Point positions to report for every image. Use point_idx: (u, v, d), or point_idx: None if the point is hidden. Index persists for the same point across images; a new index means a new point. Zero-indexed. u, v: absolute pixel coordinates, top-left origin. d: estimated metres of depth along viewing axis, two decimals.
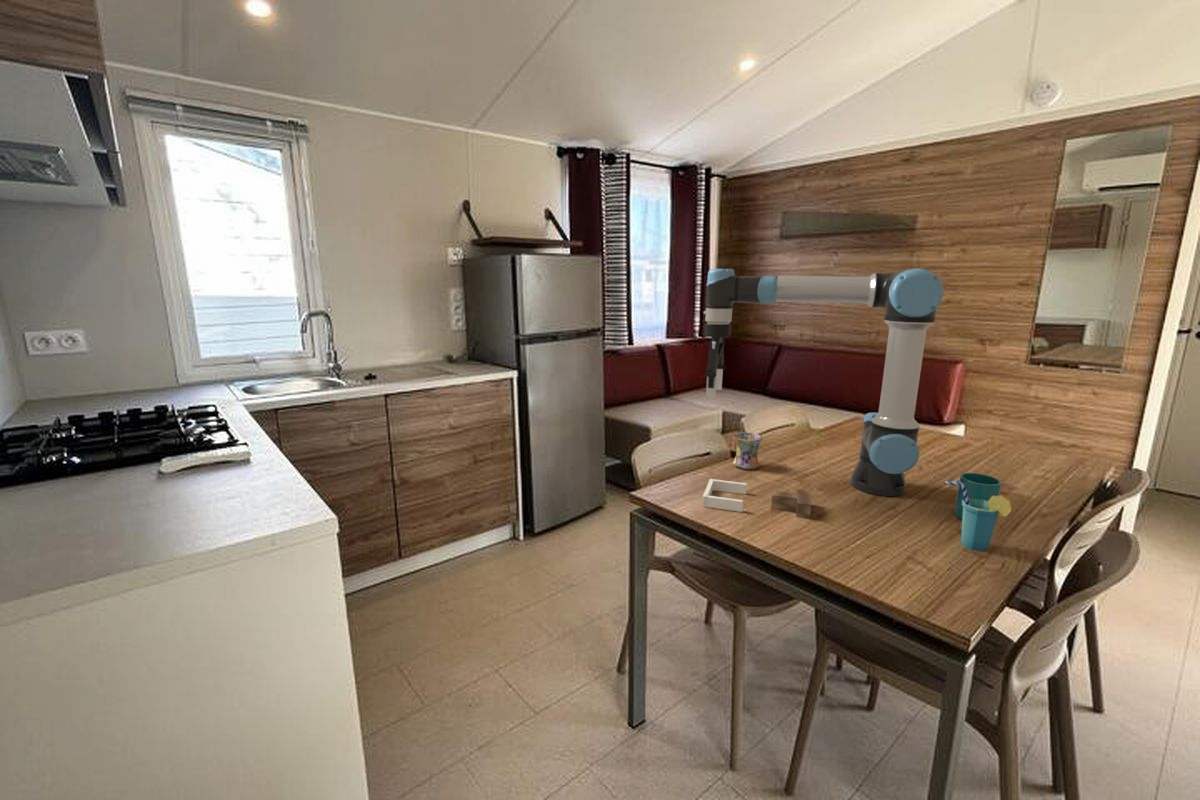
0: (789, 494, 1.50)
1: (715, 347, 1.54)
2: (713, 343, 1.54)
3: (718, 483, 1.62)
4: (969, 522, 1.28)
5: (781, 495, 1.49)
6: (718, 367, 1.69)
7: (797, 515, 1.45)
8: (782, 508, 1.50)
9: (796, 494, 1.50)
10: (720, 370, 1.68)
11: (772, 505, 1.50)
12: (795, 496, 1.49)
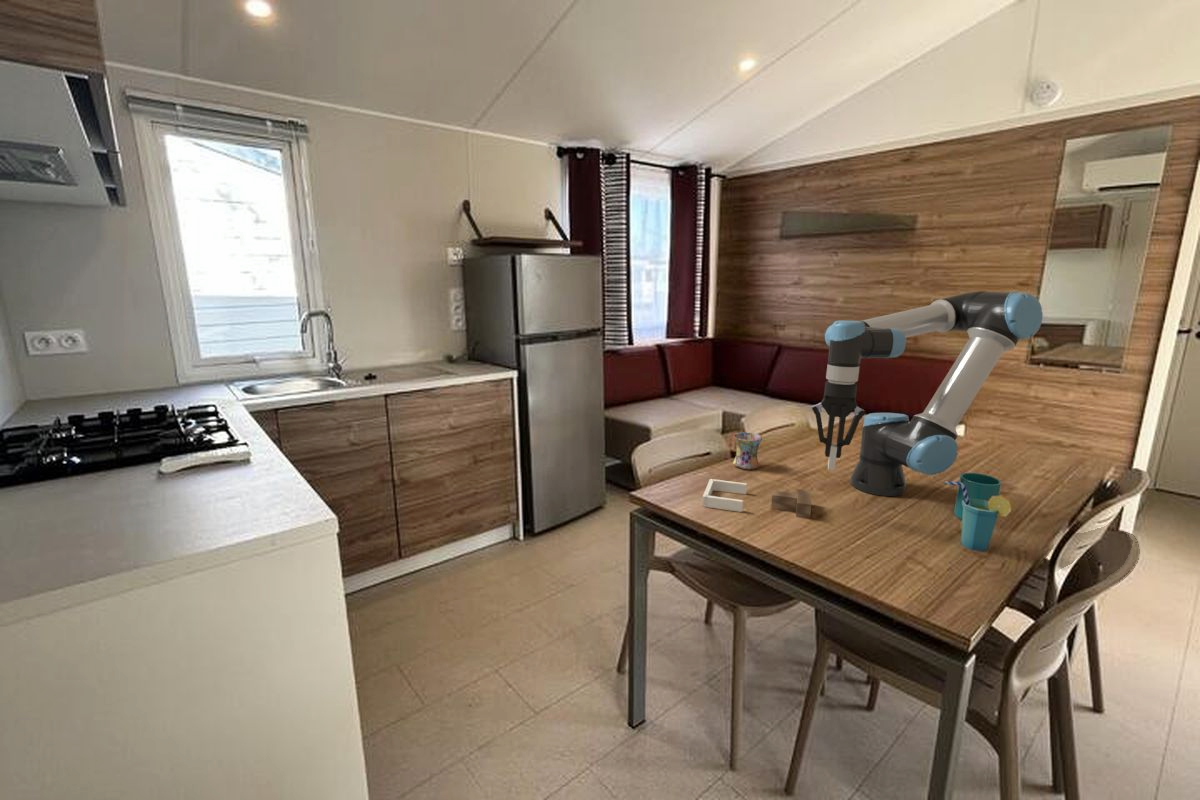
0: (789, 494, 1.50)
1: (814, 412, 1.43)
2: (812, 408, 1.43)
3: (718, 483, 1.62)
4: (969, 522, 1.28)
5: (781, 495, 1.49)
6: (836, 444, 1.43)
7: (797, 515, 1.45)
8: (782, 508, 1.50)
9: (796, 494, 1.50)
10: None
11: (772, 505, 1.50)
12: (795, 496, 1.49)
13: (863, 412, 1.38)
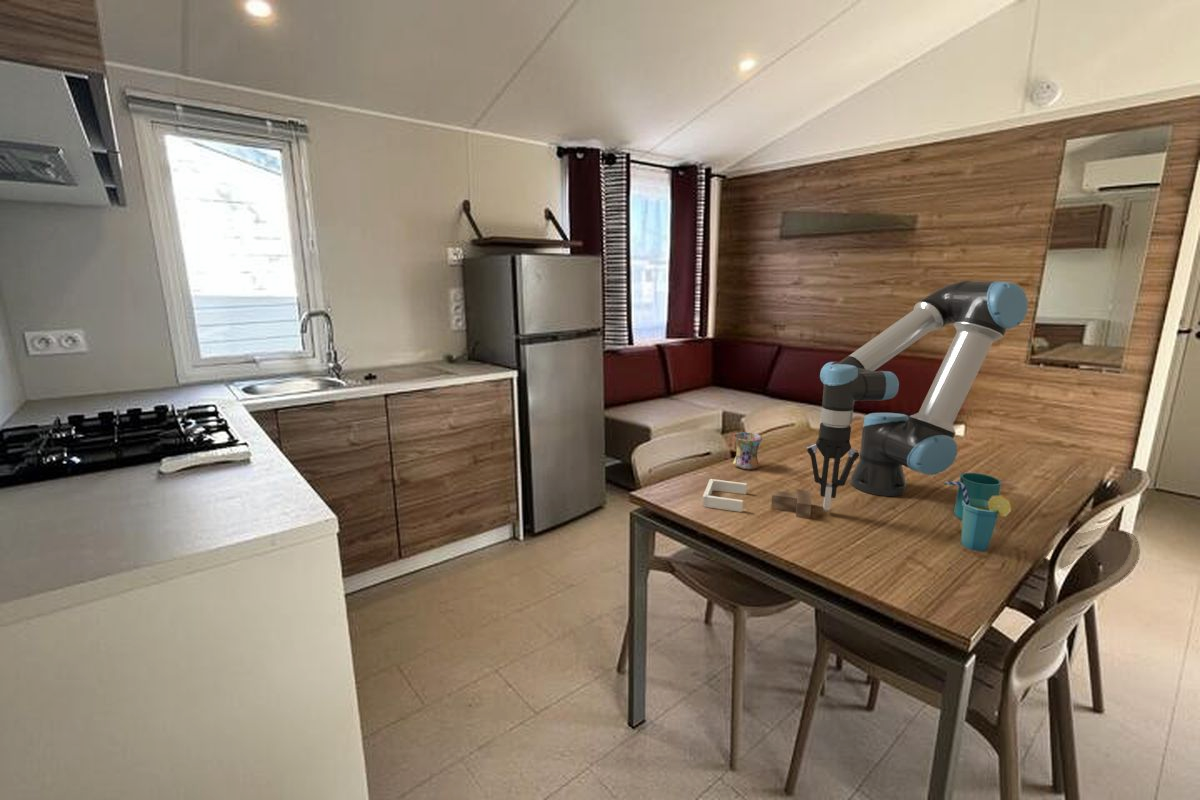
0: (789, 494, 1.50)
1: None
2: None
3: (718, 483, 1.62)
4: (969, 522, 1.28)
5: (781, 495, 1.49)
6: (831, 484, 1.46)
7: (797, 515, 1.45)
8: (782, 508, 1.50)
9: (796, 494, 1.50)
10: None
11: (772, 505, 1.50)
12: (795, 496, 1.49)
13: (857, 454, 1.41)
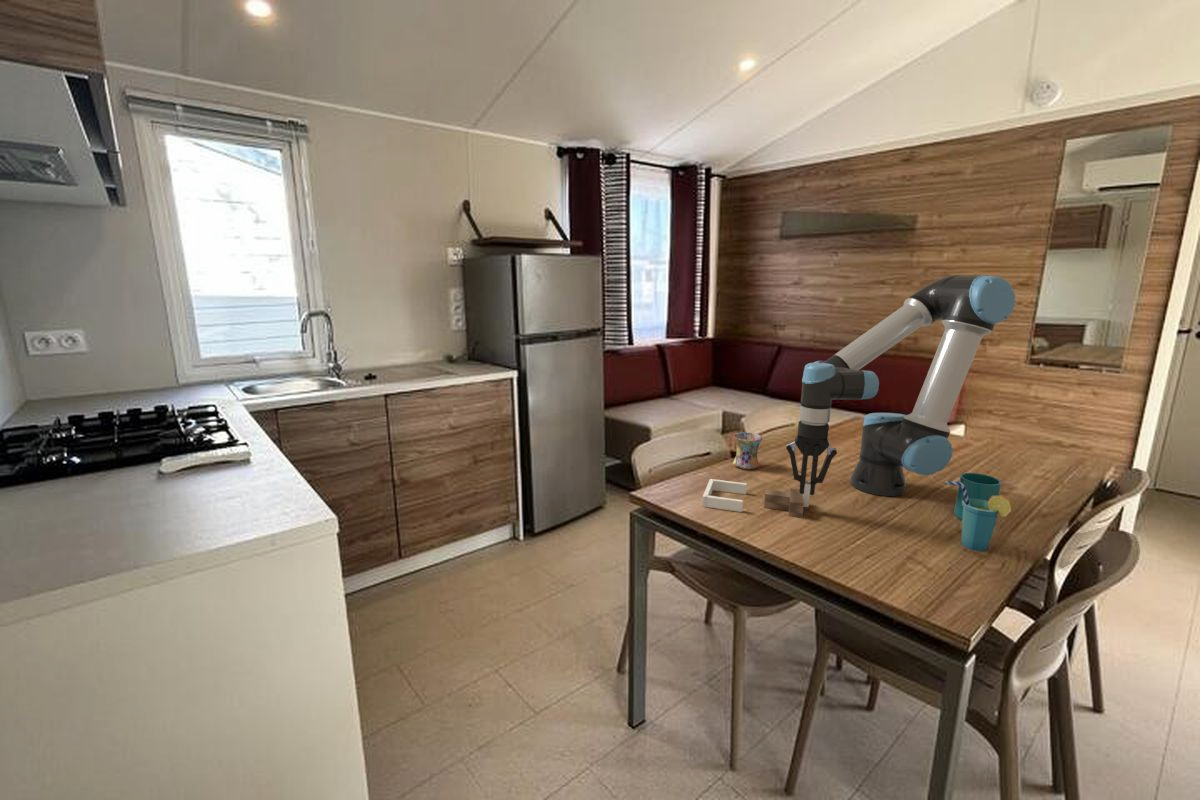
0: (781, 493, 1.51)
1: None
2: None
3: (718, 483, 1.62)
4: (968, 522, 1.28)
5: (774, 494, 1.50)
6: (810, 481, 1.47)
7: (790, 514, 1.46)
8: (775, 507, 1.50)
9: (789, 493, 1.51)
10: None
11: (765, 504, 1.51)
12: (788, 495, 1.50)
13: (835, 452, 1.42)
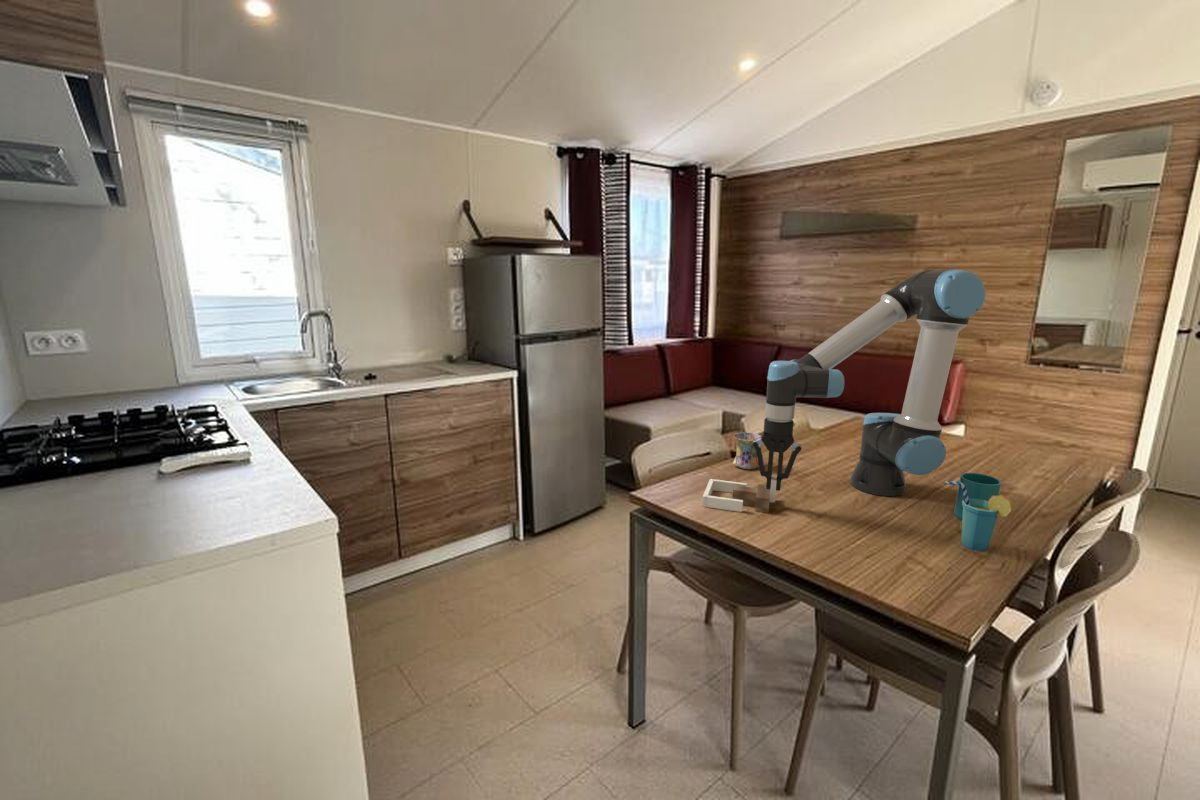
0: (749, 489, 1.54)
1: None
2: None
3: (718, 483, 1.62)
4: (969, 522, 1.28)
5: (742, 490, 1.53)
6: (776, 477, 1.50)
7: (756, 509, 1.49)
8: None
9: (756, 489, 1.53)
10: None
11: None
12: (755, 491, 1.52)
13: (799, 448, 1.45)
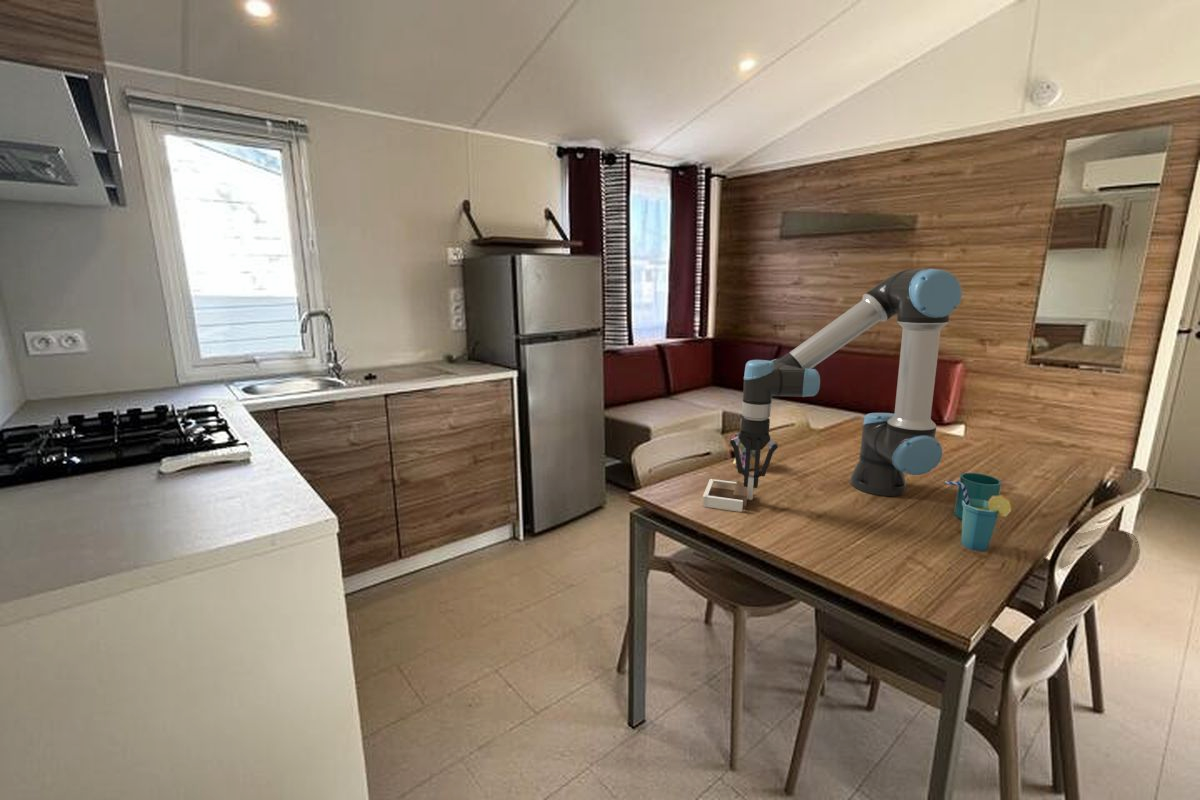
0: (727, 486, 1.56)
1: None
2: None
3: None
4: (968, 522, 1.28)
5: (720, 487, 1.55)
6: (754, 474, 1.52)
7: None
8: None
9: (734, 486, 1.55)
10: None
11: None
12: (733, 488, 1.54)
13: (775, 446, 1.47)
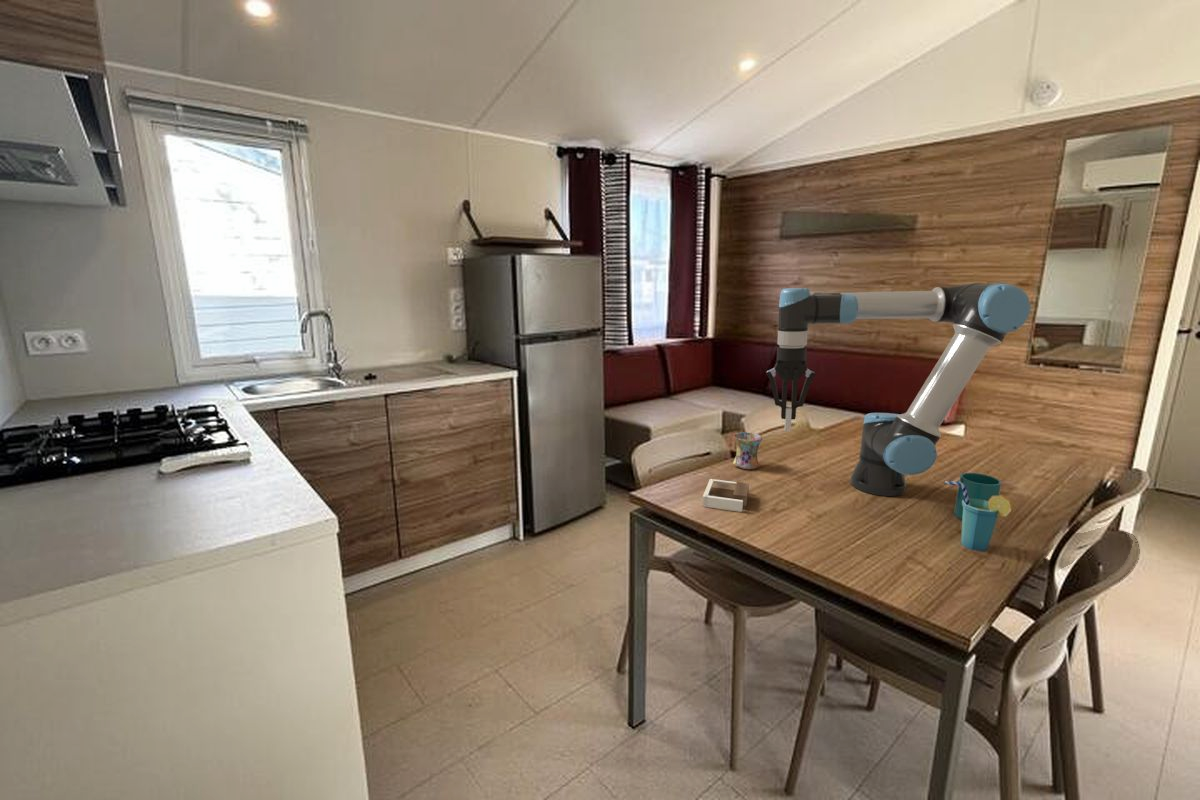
0: (727, 486, 1.56)
1: (768, 377, 1.50)
2: None
3: None
4: (969, 522, 1.28)
5: (720, 487, 1.55)
6: (791, 406, 1.51)
7: None
8: None
9: (734, 486, 1.55)
10: None
11: None
12: (733, 488, 1.54)
13: (813, 374, 1.46)
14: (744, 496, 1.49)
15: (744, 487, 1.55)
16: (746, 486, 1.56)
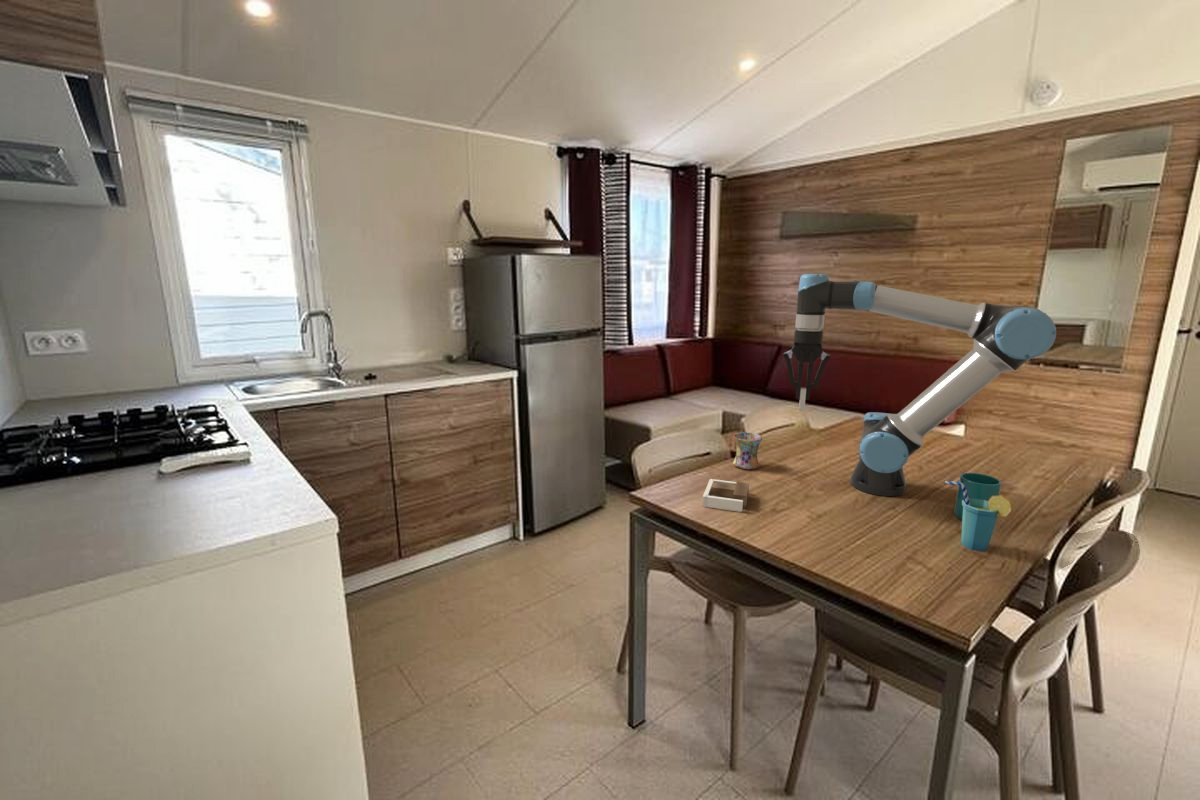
0: (727, 486, 1.56)
1: (785, 359, 1.58)
2: None
3: None
4: (969, 522, 1.28)
5: (720, 487, 1.55)
6: (806, 387, 1.58)
7: None
8: None
9: (734, 486, 1.55)
10: None
11: None
12: (733, 488, 1.54)
13: (828, 356, 1.53)
14: (744, 496, 1.49)
15: (744, 487, 1.55)
16: (746, 486, 1.56)
